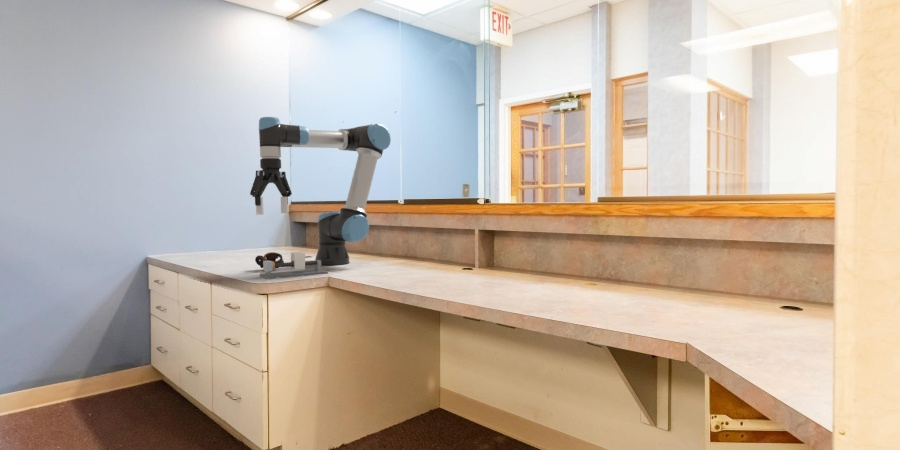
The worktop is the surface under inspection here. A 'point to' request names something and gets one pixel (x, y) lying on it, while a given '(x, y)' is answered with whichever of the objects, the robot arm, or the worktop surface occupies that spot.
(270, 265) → the cord jig
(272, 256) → the pottery mug
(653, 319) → the worktop surface
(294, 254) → the sleeve
